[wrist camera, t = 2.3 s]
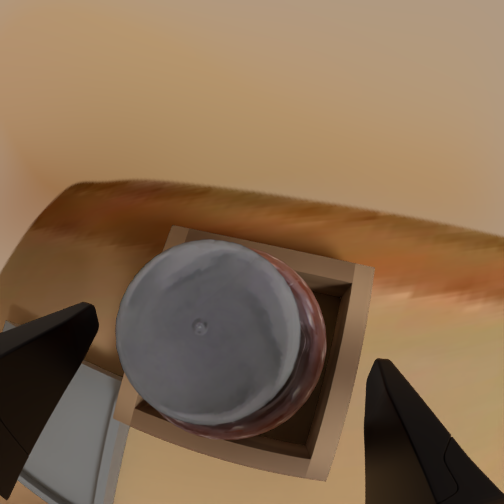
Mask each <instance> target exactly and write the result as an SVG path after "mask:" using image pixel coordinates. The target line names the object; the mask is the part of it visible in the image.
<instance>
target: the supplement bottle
mask: <svg viewBox="0 0 504 504" xmlns="http://www.w3.org/2000/svg"><path fill="white" fill-rule="evenodd" d="M116 347H117V351H118V355H119V359H120V363H121V365H122V368H123V370H124V372H125V374H126V376H127V378H128V380H129V382H130V383H131V385H132V386H133V387H134V389H135V390H136V392H137V393H138V394H139V395H140V396H141V397H142V398H143V399H144V400H145V401H146V402H148V403H149V404H150V405H151V406H152V407H153V408H155V409H156V410H157V411H158V412H159V413H160V414H161V415H162V416H163V417H164V418H165V419H167V420H168V421H169V422H171V423H173V424H174V425H175V426H177V427H179V428H181V429H183V430H184V431H186V432H189V433H191V434H195V435H197V436H200V437H205V438H209V439H223V440H238V439H243V438H249V437H253V436H256V435H259V434H262V433H265V432H268V431H269V430H272V429H274V428H276V427H278V426H279V425H281V424H282V423H284V422H285V421H287V420H288V419H289V418H291V417H292V416H293V415H294V414H295V413H296V412H297V411H298V410H299V409H300V408H301V407H302V406H303V405H304V403H305V402H306V401H307V400H308V399H309V397H310V395H311V393H312V392H313V390H314V389H315V386H316V384H317V382H318V380H319V378H320V375H321V372H322V370H323V366H324V360H325V356H326V349H327V346H326V328H325V323H324V319H323V316H322V312H321V309H320V307H319V304H318V302H317V300H316V298H315V296H314V294H313V292H312V291H311V289H310V288H309V286H308V285H307V284H306V282H305V281H304V280H303V279H302V278H301V277H300V276H299V275H298V274H297V273H296V272H295V271H294V270H293V269H292V268H291V267H289V266H288V265H287V264H286V263H284V262H283V261H281V260H280V259H278V258H276V257H274V256H272V255H270V254H268V253H266V252H263V251H260V250H257V249H253V248H249V247H245V246H243V245H240V244H237V243H234V242H228V241H223V240H212V239H202V240H195V241H190V242H185V243H182V244H179V245H176V246H173V247H171V248H169V249H167V250H165V251H164V252H162V253H160V254H159V255H157V256H155V257H154V258H153V259H152V260H151V261H149V262H148V263H147V264H146V265H145V266H144V267H143V268H142V269H141V270H140V271H139V272H138V273H137V274H136V275H135V277H134V279H133V280H132V281H131V283H130V284H129V286H128V288H127V290H126V292H125V294H124V296H123V298H122V300H121V303H120V308H119V311H118V314H117V318H116Z"/></svg>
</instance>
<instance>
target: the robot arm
mask: <svg viewBox="0 0 504 504" xmlns="http://www.w3.org/2000/svg"><path fill="white" fill-rule="evenodd" d="M98 328H99V323H98V318H97V314H96V310H95V307H94V305H92V304H89V303H86V302H82V303H79V304H76V305H74V306H71V307H68V308H66V309H63V310H60V311H57V312H55V313H52V314H49V315H47V316H44V317H41V318H39V319H36V320H33V321H31V322H28V323H25V324H23V325H20V326H18V327H15V328H12V329H10V330H7V331H4V332H2V333H0V495H1V496H2V497H3V498H4V499H6V500H8V498H9V497H10V495H11V492H12V490H13V488H14V486H15V484H16V482H17V480H18V478H19V476H20V473H21V471H22V469H23V467H24V465H25V463H26V461H27V459H28V458H29V455H30V453H31V451H32V449H33V448H34V446H35V444H36V442H37V440H38V438H39V436H40V434H41V433H42V431H43V429H44V427H45V425H46V424H47V422H48V420H49V418H50V416H51V415H52V413H53V411H54V409H55V408H56V406H57V404H58V402H59V401H60V399H61V397H62V396H63V394H64V392H65V390H66V389H67V387H68V385H69V384H70V382H71V380H72V379H73V377H74V376H75V374H76V372H77V371H78V369H79V367H80V365H81V364H82V362H83V360H84V358H85V356H86V354H87V352H88V350H89V347H90V345H91V343H92V341H93V339H94V337H95V335H96V334H97V332H98ZM364 444H365V504H504V493H502V492H501V491H500V490H499V489H498V488H497V487H496V485H495V484H494V483H493V482H492V481H491V480H490V479H489V478H488V477H487V476H486V475H485V474H484V473H483V472H482V471H481V470H480V469H479V468H478V467H477V465H476V464H475V463H474V462H473V461H472V460H471V459H470V458H469V457H468V456H467V454H466V453H465V452H464V451H463V449H462V448H461V447H460V446H459V445H458V443H457V442H456V441H455V439H454V438H453V437H451V434H450V433H449V432H448V431H447V429H446V428H445V427H444V426H443V424H442V423H441V422H440V421H439V419H438V418H437V417H436V416H435V414H434V413H433V412H432V411H431V409H430V408H429V407H428V406H427V404H426V403H425V402H424V401H423V399H422V398H421V397H420V396H419V394H418V393H417V392H416V391H415V390H414V388H413V387H412V386H411V385H410V383H409V382H408V381H407V380H406V379H405V377H404V376H403V375H402V374H401V373H400V371H399V370H398V369H397V368H396V367H395V365H394V364H393V363H392V362H391V361H390V360H389V359H380V358H378V359H376V360H375V362H374V364H373V366H372V368H371V371H370V373H369V375H368V378H367V382H366V400H365V417H364Z"/></svg>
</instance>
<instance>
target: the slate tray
mask: <svg viewBox="0 0 504 504" xmlns="http://www.w3.org/2000/svg"><path fill="white" fill-rule="evenodd" d="M18 326H20V325H19V324H15V323H12V322H9V321H5V325H4V329H3V332H4V331H7V330H10V329H12V328H15V327H18ZM122 379H123V377H121V376H118V375H116V374H114V373H111V372H109V371H107V370H105V369H102V368H100V367H98V366H96V365H94V364H92V363H90V362H87V361H85V360H83V362H82V364H81V365H80V367H79V369H78V371H77V372H76V374H75V376H74V377H73V379H72V380H71V382H70V384H69V385H68V387H67V389H66V390H65V392H64V394H63V396H62V397H61V399H60V401H59V402H58V404H57V406H56V408H55V409H54V411H53V413H52V415H51V416H50V418H49V420H48V422H47V424H46V425H45V427H44V429H43V431H42V433H41V434H40V436H39V438H38V440H37V442H36V444H35V446H34V448H33V449H32V451H31V453H30V455H29V458H28V459H27V461H26V463H25V465H24V467H23V469H22V471H21V473H20V476H19V478H18V481H19V482H21V483H22V484H23V485H24V486H26V487H27V488H28V489H29V490H31V491H32V492H33V493H35V494H36V495H37V496H39V497H40V498H41V499H43V500H44V501H46V502H47V503H48V504H113V501H114V496H115V491H116V486H117V481H118V476H119V471H120V466H121V462H122V457H123V453H124V448H125V444H126V440H127V435H128V431H129V427H130V426H128V425H126V424H124V423H122V422H119V421H117V420H115V419H113V414H114V410H115V406H116V402H117V398H118V394H119V390H120V386H121V383H122Z"/></svg>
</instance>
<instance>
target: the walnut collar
mask: <svg viewBox="0 0 504 504" xmlns="http://www.w3.org/2000/svg"><path fill="white" fill-rule="evenodd" d="M202 239H212V240H223V241H228V242H234V243H237V244H240V245H243V246H245V247H249V248H253V249H257V250H260V251H263V252H266V253H268V254H270V255H272V256H274V257H276V258H278V259H280V260H281V261H283V262H284V263H286V264H287V265H288V266H289V267H291V268H292V269H293V270H294V271H295V272H296V273H297V274H298V275H299V276H300V277H301V278H302V279H303V280H304V281H305V282H306V284H307V285H308V286H309V288H310V289H311V291H312V292H317V293H322V294H326V295H331V296H336V297H341V300H340V306H339V311H338V316H337V321H336V326H335V331H334V336H333V340H332V345H331V350H330V354H329V358H328V363H327V367H326V371H325V375H324V380H323V384H322V388H321V392H320V395H319V399H318V403H317V407H316V411H315V414H314V418H313V421H312V425H311V429H310V432H309V435H308V439H307V442H306V445H300V444H295V443H290V442H285V441H280V440H275V439H271V438H267V437H262V436H258V435H256V436H253V437H249V438H243V439H238V440H223V439H209V438H205V437H200V436H197V435H195V434H191V433H189V432H186V431H184V430H183V429H181V428H179V427H177V426H175V425H174V424H173V423H171V422H169V421H168V420H167V419H165V418H164V417H163V416H162V415H161V414H160V413H159V412H158V411H157V410H156V409H155V408H153V407H152V406H151V405H150V404H149V403H148V402H146V401H145V400H144V399H143V398H142V397H141V396H140V395H139V394H138V393H137V392H136V390H135V389H134V387H133V386H132V385H131V383H130V382H129V380H128V378H127V376H126V374H125V372H124V375H123V379H122V383H121V386H120V390H119V394H118V398H117V402H116V406H115V410H114V414H113V419H115V420H117V421H119V422H122V423H124V424H126V425H128V426H131V427H133V428H135V429H137V430H140V431H142V432H144V433H147V434H149V435H152V436H154V437H157V438H159V439H162V440H164V441H167V442H170V443H172V444H175V445H178V446H181V447H184V448H186V449H189V450H192V451H195V452H198V453H201V454H205V455H208V456H211V457H214V458H218V459H221V460H225V461H228V462H232V463H235V464H239V465H243V466H247V467H251V468H255V469H259V470H264V471H268V472H273V473H278V474H283V475H288V476H294V477H299V478H306V479H312V480H319V481H326V480H327V477H328V474H329V471H330V468H331V465H332V462H333V459H334V456H335V452H336V449H337V446H338V443H339V439H340V436H341V432H342V429H343V425H344V422H345V418H346V414H347V410H348V406H349V403H350V399H351V395H352V390H353V386H354V382H355V378H356V373H357V369H358V364H359V359H360V355H361V350H362V345H363V340H364V334H365V329H366V323H367V317H368V311H369V305H370V299H371V292H372V285H373V278H374V271H375V268H374V267H370V266H365V265H361V264H356V263H351V262H347V261H342V260H338V259H333V258H328V257H324V256H319V255H314V254H310V253H305V252H300V251H296V250H291V249H286V248H281V247H277V246H272V245H267V244H262V243H258V242H253V241H248V240H243V239H238V238H234V237H229V236H224V235H219V234H214V233H209V232H204V231H200V230H195V229H190V228H185V227H180V226H175V225H172V227H171V230H170V232H169V235H168V238H167V240H166V243H165V246H164V249H163V251H162V252H164V251H165V250H167V249H169V248H171V247H173V246H176V245H179V244H182V243H185V242H190V241H195V240H202Z"/></svg>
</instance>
